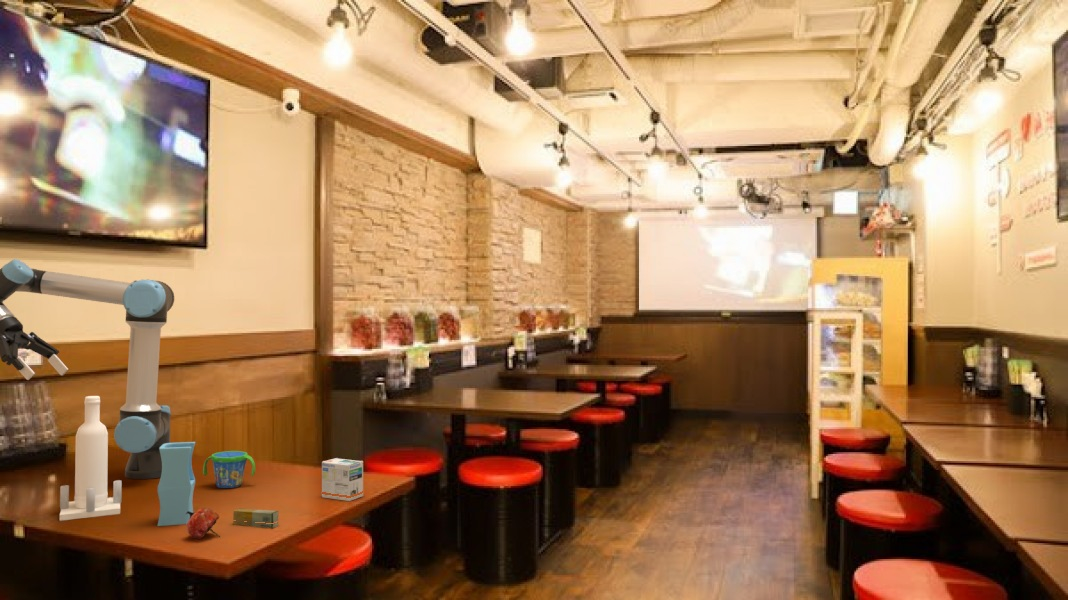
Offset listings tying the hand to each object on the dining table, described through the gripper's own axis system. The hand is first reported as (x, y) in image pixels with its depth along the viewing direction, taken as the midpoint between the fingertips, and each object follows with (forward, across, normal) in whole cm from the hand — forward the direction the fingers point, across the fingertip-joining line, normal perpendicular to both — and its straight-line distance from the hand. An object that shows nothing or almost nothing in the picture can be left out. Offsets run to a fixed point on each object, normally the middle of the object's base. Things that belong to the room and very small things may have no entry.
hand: (48, 374), depth 225 cm
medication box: (+80, +22, +28) cm, 87 cm away
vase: (+64, +22, +13) cm, 68 cm away
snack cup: (+60, -15, +9) cm, 63 cm away
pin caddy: (+43, +16, -7) cm, 47 cm away
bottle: (+42, +16, -6) cm, 46 cm away
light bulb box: (+88, -8, +37) cm, 96 cm away
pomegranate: (+74, +34, +23) cm, 84 cm away
